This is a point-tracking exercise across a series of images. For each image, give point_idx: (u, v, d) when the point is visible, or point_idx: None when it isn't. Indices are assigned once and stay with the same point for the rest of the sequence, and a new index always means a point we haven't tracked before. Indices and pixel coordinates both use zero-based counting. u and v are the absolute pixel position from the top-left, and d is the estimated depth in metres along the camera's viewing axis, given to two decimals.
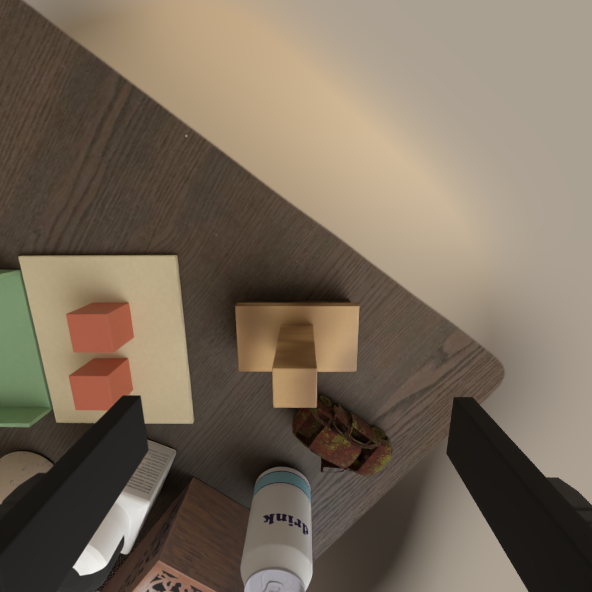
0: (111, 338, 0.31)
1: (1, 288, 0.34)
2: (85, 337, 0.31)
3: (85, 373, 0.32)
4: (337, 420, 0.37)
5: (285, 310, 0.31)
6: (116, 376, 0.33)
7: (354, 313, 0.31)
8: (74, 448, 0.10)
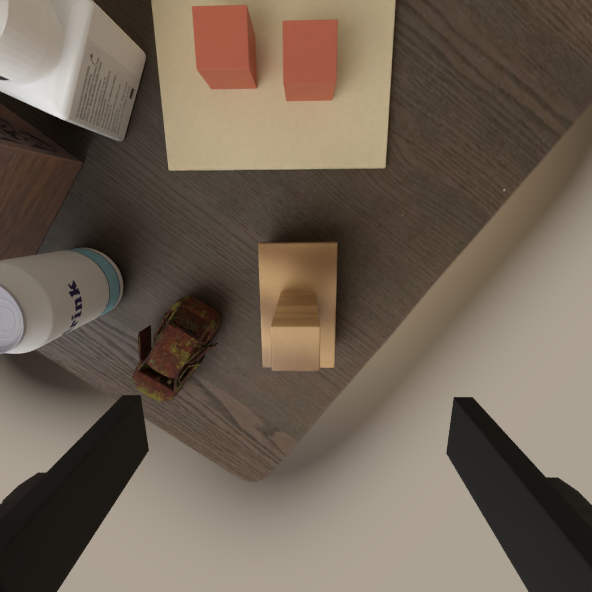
0: (302, 83, 0.24)
1: None
2: (304, 43, 0.23)
3: (248, 31, 0.24)
4: None
5: (331, 297, 0.29)
6: (241, 77, 0.25)
7: (326, 363, 0.31)
8: (74, 448, 0.10)
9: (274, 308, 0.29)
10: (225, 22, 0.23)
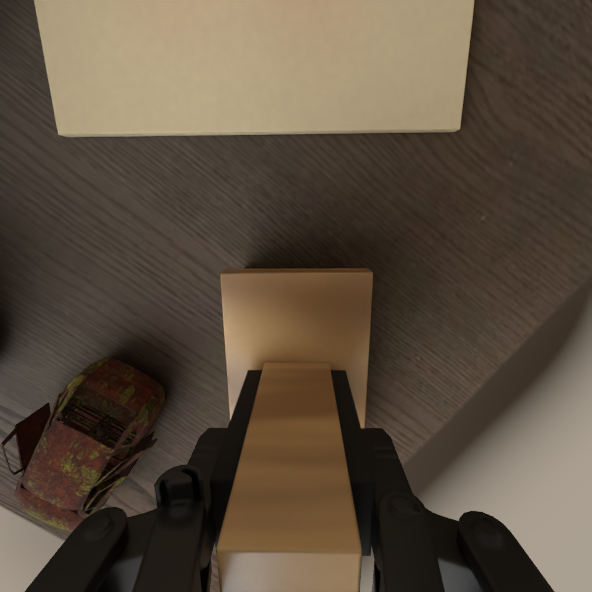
0: None
1: None
2: None
3: None
4: (120, 428, 0.20)
5: (358, 370, 0.16)
6: None
7: None
8: (237, 407, 0.12)
9: None
10: None
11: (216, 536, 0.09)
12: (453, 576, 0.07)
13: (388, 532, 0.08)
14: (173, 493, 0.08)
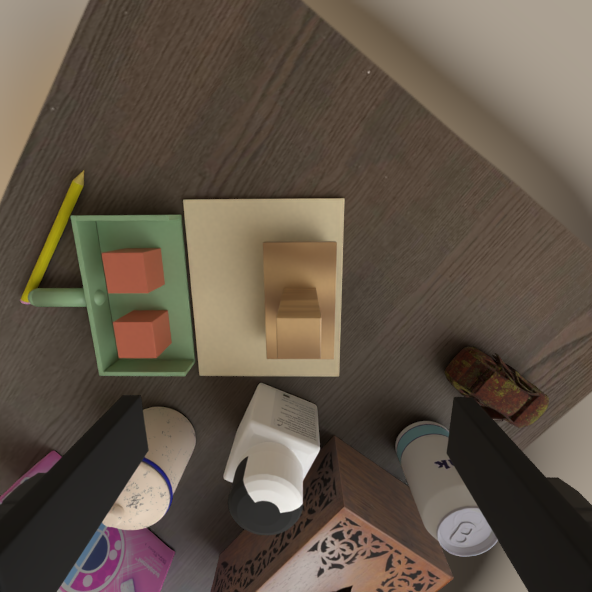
0: (146, 278, 0.31)
1: (160, 234, 0.34)
2: (120, 277, 0.31)
3: (129, 320, 0.32)
4: (488, 372, 0.37)
5: (331, 292, 0.31)
6: (159, 325, 0.34)
7: (326, 355, 0.33)
8: (74, 447, 0.10)
9: (277, 303, 0.31)
10: (125, 336, 0.32)
11: None
12: None
13: None
14: None
